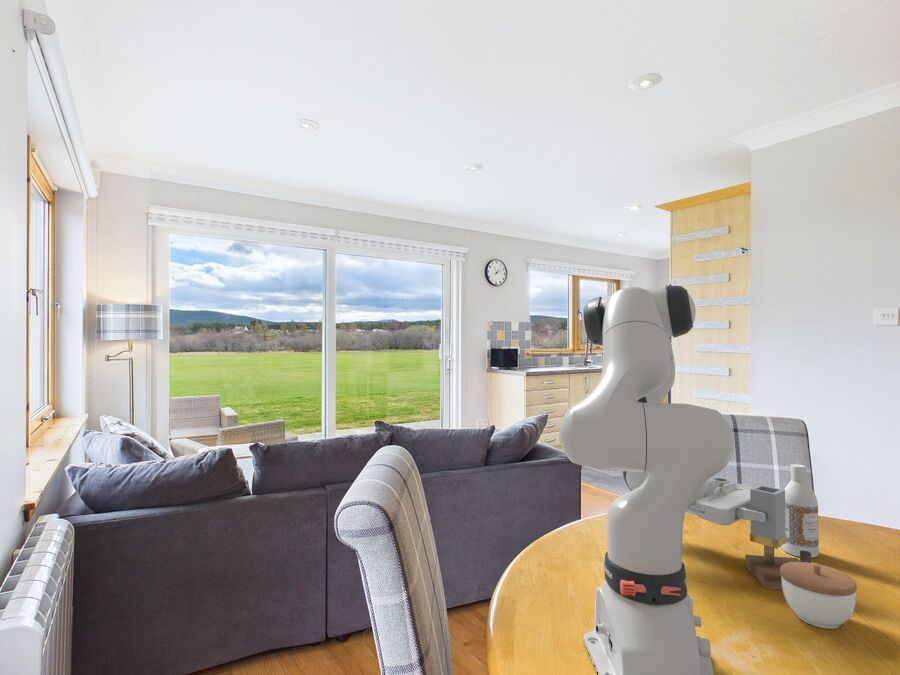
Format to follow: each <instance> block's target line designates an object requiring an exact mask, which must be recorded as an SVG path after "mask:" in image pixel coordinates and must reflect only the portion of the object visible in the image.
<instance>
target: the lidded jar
mask: <svg viewBox="0 0 900 675" xmlns="http://www.w3.org/2000/svg"><path fill="white" fill-rule="evenodd" d="M780 573H781V582H782V589H783V590H782V592H783V596H784V598H785V601H786V603H787V605H788V606H789V608H790V609H791V610H792V611H793V612H794V613H795V614H796V616H797V617H798V619H800V621H803V622H804V623H806V624H808V625H811V626H813V627H816V628H820V629H825V630H833V629H834V630H835V629H838V628H840V627H841V625H843V624H845V623H846V622H847V621H849V619H850V618H851V617H852V616H853V614H854V611H855V607H856V601H857V600H856V599H857V597H856V596H857V594H856V593H857V590H858V589H857V588H858V587H857V582H856V581H855V580H854V579H853V578H852V577H851V576H850V575H849V574H846V573H844V572H843V571H841V570H838V569H836V568H832V567H829V566H827V565H822V564H820V563H813V562H811V563H808V562H788V563H785V564H783V565H782V566H781V567H780Z"/></svg>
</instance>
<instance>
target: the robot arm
mask: <svg viewBox="0 0 900 675" xmlns="http://www.w3.org/2000/svg"><path fill="white" fill-rule="evenodd" d="M696 315H697V310H696V305H695V302H694V299H693V297H692V295H690V294H689V292H688V290H687V289H686V288H684V287H683V286H681V285H665V286H664V287H653V288H652V287H651V288H642V287H639V286H627V287H624V288H621V289H619V290H617V291H615V292H614V293H613V294H610V295H607V296H604V297H602V296H598V297H595V298H593V299H591V300H588V302H587V303H586V304H585V305H584V307H583V312H582V315H581V316H582V319H581V320H582V321H581V322H582V323H581V324H582V328H583V330H584V333H585V335H586V336H587V339H588V341H589V342H591V343H592V344H594V345H598V346H602V364H601V365H602V366H601V374H600V378H599V380H598V382H597V384H596V385H595V386H594V388H593V389H592V390H591V392H589V394H588V395H586V397H585V398H583V399H581V400H580V401H579V402H577V403H575V404H573V405H571V406H570V407H569V409H568V410H566V412H565V413H564V416H563V417H562V418H561V421H560V424H559V431H558V433H559V443H560V446H561V448H562V452H564V454H565V456H566V457H567V459H569V461H571V463H572V464H575V465H579V466H583V467H586V468H591V469H595V470H598V471H607V472H608V471H613V472H622V476H623V479H624V483H625V484H626V486H627V487H628V489H629V490H630V491H627V492H625V493H623V494H621V495H619V496H617V497H616V498H615V499H614V500H613V501H612V502H611V503H610V505H609V507H608V509H607V513H606V532H607V533H606V535H607V536H606V537H607V539H606V540H607V543H606V544H607V547H606V548H607V551H606V552H605V554H604V561H603V569H604V581H603V583H602V584H601V585H600V586H599V587H598V588H597V589H595V594H594V595H595V596H594V598H595V599H594V629H593V630H590V631H587V632H585V633H584V634H583V637H582V641H583V640H584V643H585V645H586V647H587V650H588V652H589V654H590V656H591V658H592V660H593V663H594V665H595V667H596V670H597V672H598V674H599V675H715V674H714V668H713V663H712V659H711V654H712V652H711V642H710V639H708V638H704V637H701V636H698V635H697V632H696V627H697V628H702V618H701V616H699V615H695V614H694V598H693V597H692V596H691V595H690V594H688V587H687V586H688V584H687V583H688V578H687V572H686V568H685V564H684V562H683V536H684V535H683V534H684V533H683V532H684V523H685V517H686V513H687V514H691V515H693V516H696V517H698V518H699V519H702V520H705V521H708V522H711V523H713V524H716V525H720V526H730V525H733V524H734V523H736V522H738V521H741V520H744V521H751V520H756V521H760V522H765V521H767V520H768V514H767V513H766V512H763V511H759V510H758V511H754V510H750V489H751V488H754V486H750V485H745V484H742V483H736V482H731V480H730V479H728V478H725V477H718V478H712V477H714V476H715V475H717V474H719V473H720V472H722V471H723V470H724V469H725V468H726V467H727V466H728V465H729V463H730V462H731V459H732V457H733V455H734V452H735V451H734V450H735V436H734V432H733V430H732V427H731V424H730V423H729V421H728V420H727V418H726V417H725V416H724V415H723V414H722V413H721V412H719V411H718V410H717V409H712V408H711V407H710V408H709V407H705V406H701V405H694V404H690V403H679V402H678V403H673V402H669V403H666V402H664V403H663V401H664V399H665V398H666V396H667V395H668V393H670V391H671V389H672V388H673V386H674V383H675V379H676V378H675V377H676V362H675V358H674V357H675V356H674V351H673V346H672V343H671V342H672V341H671V339H670V338H671V337H673V338H674V339H675V338H679V337H681V336H684V335H686V334H688V333H689V332H690V331H691V330H692V329H693V327H694V323H695V320H696ZM584 643H583V644H584ZM585 645H584V646H585ZM587 650H586V651H587ZM588 652H587V653H588ZM589 654H588V655H589ZM593 663H592V664H593ZM596 670H595V671H596ZM597 672H596V673H597Z"/></svg>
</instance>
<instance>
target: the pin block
mask: <svg viewBox="0 0 900 675" xmlns="http://www.w3.org/2000/svg"><path fill="white" fill-rule="evenodd" d="M744 557H745V568H746V569H748V571H749V572H750V573H751V574H752V575H753V576H754V578H756V580H757V579H758V580H757V581H758V583H760V584H761V585H762V586H763V587H764V589H765V588H768V589H767V590H778V591H783V589H782V582H781V573H780V567H781V566H782V565H783V564H785V563H788V562H808V563H812V558H811V553H810V552H808V551H803V550H801V551H800V557H799V559H798V557H783V556H775V548H772V547H769V546H765V545H763V555H755V554H745V556H744Z"/></svg>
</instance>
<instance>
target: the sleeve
mask: <svg viewBox="0 0 900 675" xmlns="http://www.w3.org/2000/svg"><path fill="white" fill-rule="evenodd" d="M750 510H754V511H758V510H759V511H763V512H766V513H767V514H768V520H767V521H765V522H760V521H756V520H750V533H749V541H750V542H753V543H756V544H759V545H762V546H764V545H765V546H769V547H772V548H774V549H776V550H778V549H779V548H780V547H782V545H784V544H785V543H787V535H786V513H785V490H784V489H782V488H777V487H772V486H767V485H762V484H758V485H756V486H753V488H751V489H750Z"/></svg>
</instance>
